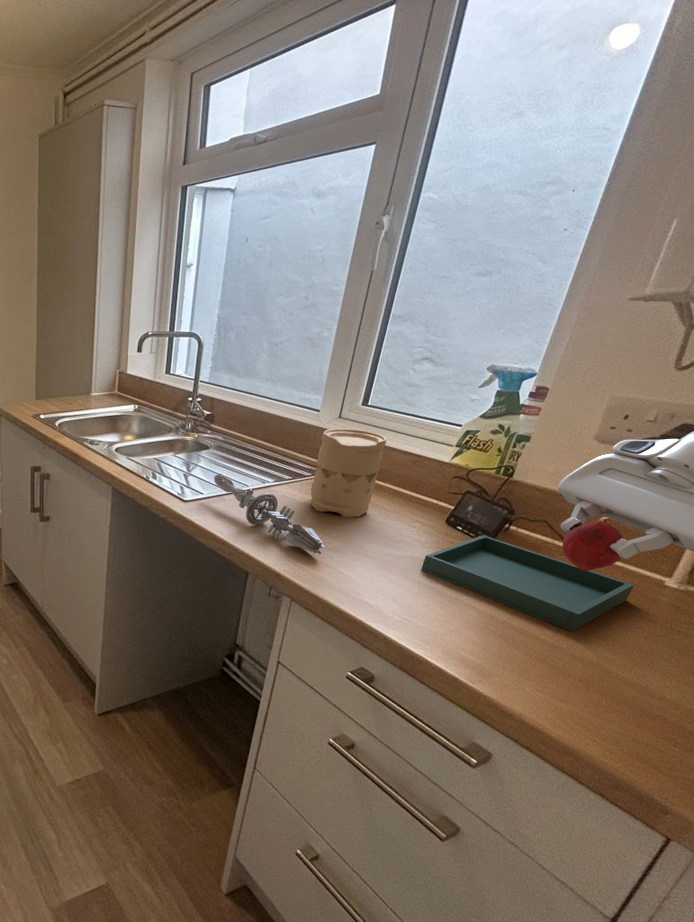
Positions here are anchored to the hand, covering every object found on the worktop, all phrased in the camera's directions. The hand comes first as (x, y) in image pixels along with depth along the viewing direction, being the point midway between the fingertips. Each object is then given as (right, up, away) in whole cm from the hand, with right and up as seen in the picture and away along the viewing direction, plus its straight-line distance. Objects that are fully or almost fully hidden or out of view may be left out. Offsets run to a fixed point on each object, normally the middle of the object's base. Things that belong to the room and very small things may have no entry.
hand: (589, 541), depth 72 cm
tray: (+11, -9, +22) cm, 27 cm away
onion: (+1, -4, +2) cm, 5 cm away
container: (-1, +4, +56) cm, 56 cm away
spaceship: (-24, 0, +47) cm, 53 cm away
